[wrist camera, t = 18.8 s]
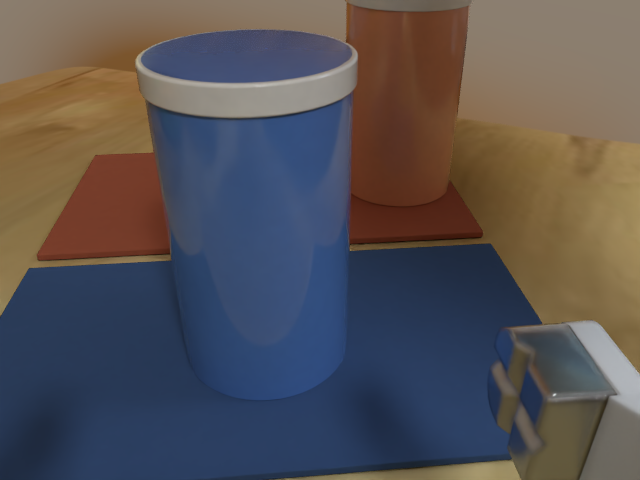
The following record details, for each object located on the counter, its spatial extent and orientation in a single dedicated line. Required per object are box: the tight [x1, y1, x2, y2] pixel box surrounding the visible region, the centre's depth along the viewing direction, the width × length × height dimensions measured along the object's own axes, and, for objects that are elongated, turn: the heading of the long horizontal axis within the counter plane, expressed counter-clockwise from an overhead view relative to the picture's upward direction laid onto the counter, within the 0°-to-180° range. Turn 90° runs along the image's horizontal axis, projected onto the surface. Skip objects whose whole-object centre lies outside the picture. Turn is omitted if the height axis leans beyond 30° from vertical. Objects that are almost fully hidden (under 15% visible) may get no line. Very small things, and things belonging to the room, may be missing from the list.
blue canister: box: [135, 29, 358, 401], centre depth 18 cm, size 6×6×10 cm
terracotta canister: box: [345, 0, 474, 207], centre depth 29 cm, size 6×6×10 cm
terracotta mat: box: [37, 153, 483, 260], centre depth 31 cm, size 20×11×1 cm, turn 95°
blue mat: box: [0, 244, 542, 480], centre depth 21 cm, size 20×11×1 cm, turn 95°
